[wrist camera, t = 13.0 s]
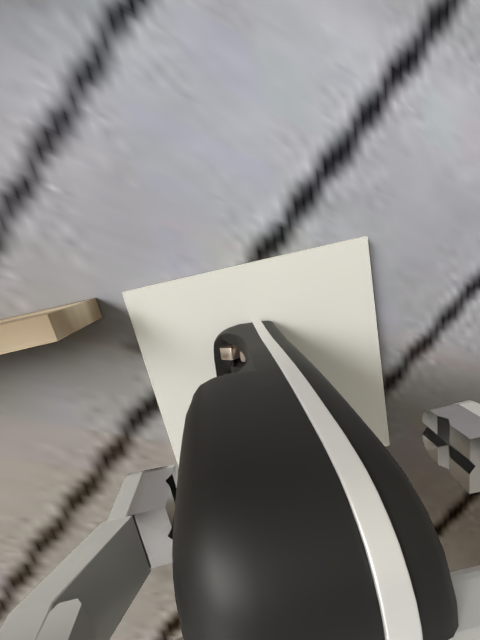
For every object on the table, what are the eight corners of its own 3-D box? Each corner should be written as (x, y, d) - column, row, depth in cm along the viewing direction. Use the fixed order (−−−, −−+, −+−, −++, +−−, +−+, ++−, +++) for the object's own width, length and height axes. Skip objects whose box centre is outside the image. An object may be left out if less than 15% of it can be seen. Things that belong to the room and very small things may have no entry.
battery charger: (195, 323, 14) (107, 614, 3) (272, 312, 14) (501, 540, 3) (214, 445, 15) (212, 955, 4) (283, 435, 15) (455, 891, 4)
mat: (383, 438, 17) (389, 445, 16) (189, 488, 16) (188, 497, 16) (360, 236, 14) (367, 236, 13) (125, 290, 14) (121, 292, 13)
